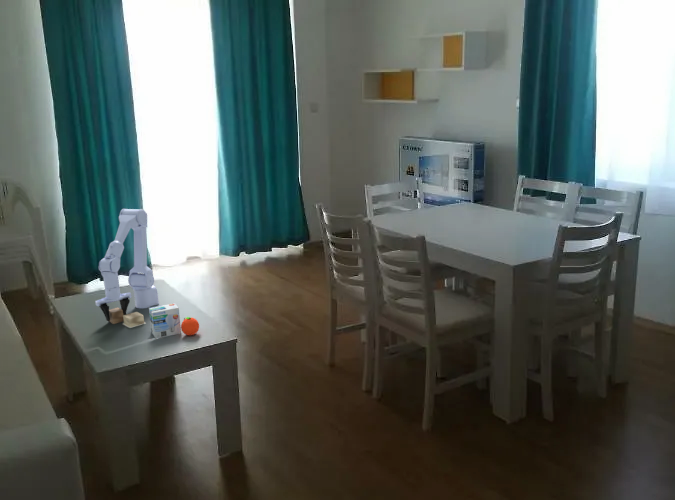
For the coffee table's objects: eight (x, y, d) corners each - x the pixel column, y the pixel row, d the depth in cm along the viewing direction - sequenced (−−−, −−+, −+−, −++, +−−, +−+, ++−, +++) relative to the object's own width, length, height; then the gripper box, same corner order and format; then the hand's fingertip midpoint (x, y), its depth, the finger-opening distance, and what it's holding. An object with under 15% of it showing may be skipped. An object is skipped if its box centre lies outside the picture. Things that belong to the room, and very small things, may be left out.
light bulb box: (154, 339, 254) (151, 312, 252) (150, 333, 260) (147, 307, 257) (182, 333, 259) (179, 307, 256) (177, 328, 265) (175, 302, 262)
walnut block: (119, 318, 276) (118, 307, 275) (124, 321, 272) (122, 309, 271) (109, 321, 273) (107, 310, 272) (113, 324, 270) (112, 312, 268)
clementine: (177, 334, 258) (175, 317, 256) (192, 329, 263) (190, 312, 261) (188, 339, 252) (186, 322, 251) (203, 334, 257) (201, 317, 255)
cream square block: (137, 319, 273) (136, 311, 273) (144, 323, 269) (143, 315, 268) (124, 323, 270) (123, 315, 269) (130, 327, 265) (129, 319, 264)
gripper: (124, 280, 276) (128, 311, 280) (90, 288, 267) (95, 320, 271) (132, 284, 271) (136, 315, 275) (97, 292, 262) (102, 324, 265)
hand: (116, 318), depth 272 cm, fingers open, 6 cm apart
